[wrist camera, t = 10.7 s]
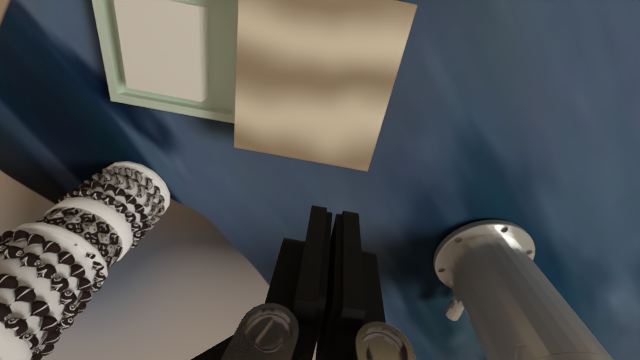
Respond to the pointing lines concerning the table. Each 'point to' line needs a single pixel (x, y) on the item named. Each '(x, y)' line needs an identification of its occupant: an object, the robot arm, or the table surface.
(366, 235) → the table surface
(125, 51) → the cream tile
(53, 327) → the decorative candle
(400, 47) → the board
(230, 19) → the sage tray
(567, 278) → the table surface
